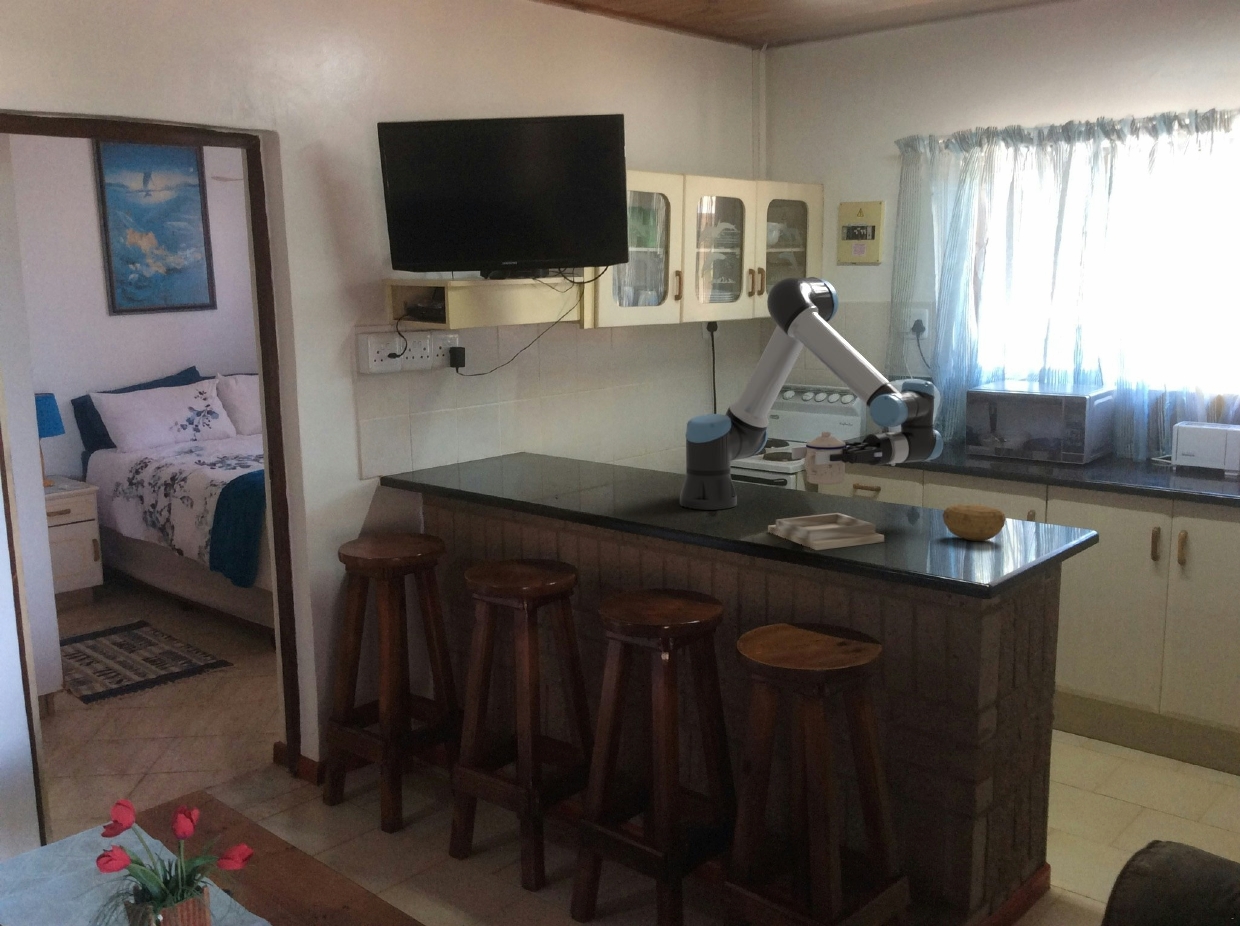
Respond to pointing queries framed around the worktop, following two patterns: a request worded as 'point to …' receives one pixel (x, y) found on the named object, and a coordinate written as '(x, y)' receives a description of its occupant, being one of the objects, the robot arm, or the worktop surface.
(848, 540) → the cradle board
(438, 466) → the worktop surface
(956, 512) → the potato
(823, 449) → the teacup with lid
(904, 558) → the worktop surface
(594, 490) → the worktop surface
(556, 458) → the worktop surface
